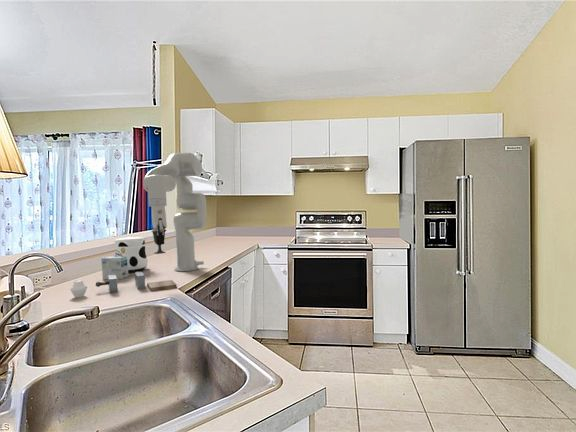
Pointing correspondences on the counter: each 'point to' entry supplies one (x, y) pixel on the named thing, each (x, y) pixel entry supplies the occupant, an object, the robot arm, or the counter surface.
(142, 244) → the milk container
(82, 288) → the white faceted knobby ball
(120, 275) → the light bulb box
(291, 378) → the counter surface
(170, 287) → the walnut board
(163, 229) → the sundae
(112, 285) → the vise
